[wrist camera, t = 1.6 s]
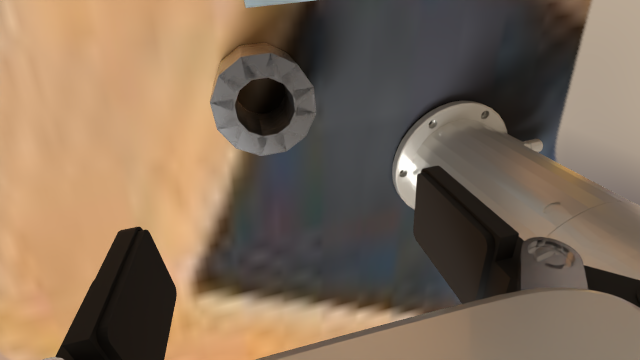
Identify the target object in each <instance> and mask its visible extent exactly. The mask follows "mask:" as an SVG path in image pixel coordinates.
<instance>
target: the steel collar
mask: <svg viewBox="0 0 640 360" xmlns="http://www.w3.org/2000/svg"><path fill="white" fill-rule="evenodd" d="M262 78H271V79H273V80H276V81H278V82H280V83H283V84H284V87H285V94H284V97H283V99H282V102H281V104H280V105H279V106H278V107H277V108H275V109H274V110H273V111H272V112H268V113H262V114H256V113H254V112H251V111H248V110H246V109H245V108H244V107H243V106H242V105H241V104H240V103H239V102H238V100H237V96H238V93H239V91H240V89H242V88H243V87H244V86H245V85H247V84H248V83H249V82H250V81H251V80H255V79H262ZM210 104H211V108H212V112H213V116H214V119H215V123H216V127H217V130H218V131H219V132H220V133H221V134H222V135H223V136H224V137H225V138H226V139H227V140H228V141H229V142H230V143H231V144H232V145H233V146H234V147H235V148H237V149H240V150H243V151H247V152H250V153H253V154H256V155H260V156H263V155H269V154H274V153H280V152H286V151H287V150H289V149H290V148H291V147H293V146H294V145H295V144H296V143H298V142H299V141H300V140H302V139H303V138H304V137H306V135H307V133H308V131H309V128H310V126H311V124H312V122H313V119H314V117H315V115H316V105H315V95H314V87H313V85H312V84H311V83H310V81H309V80H308V78H307V77H306V76H305V74H304V73H303V71H302V70H301V69H300V67H299V66H298V64H297V63H296V62H295V61H294V60H293V59H292V58H291V57H290V55H289V54H288V53H287V52H284V51H282V50H280V49H278V48H276V47H273V46H271V45H269V44H267V43H256V44H248V45H240V46H238V47H237V48H236V49H235V50H234V51H232V52H231V53H230V54H229V55H228V56H226V57H225V58H224V59H223V60H222V61H221V62H220V65H219V69H218V72H217V75H216V78H215V82H214V85H213V90H212V95H211V100H210Z"/></svg>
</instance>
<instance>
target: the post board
mask: <svg viewBox="0 0 640 360" xmlns="http://www.w3.org/2000/svg"><path fill="white" fill-rule="evenodd" d="M305 1H314V0H244V3H245V7H246V8H250V7H259V6H268V5H277V4H287V3H296V2H305Z"/></svg>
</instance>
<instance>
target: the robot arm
mask: <svg viewBox="0 0 640 360" xmlns="http://www.w3.org/2000/svg"><path fill="white" fill-rule="evenodd" d="M542 148H543V144H542V141H540V140H539V139H532V140H527V141H524V142H522V141H520V140H518V139H516V138H514V137H512V136H510V135H508V134H507V129H506V126H505V123H504V121H503V120H502V118H501V117H500V115H499V114H498V113H497V112H495V111H494V110H493V109H492V108H490V107H488V106H486V105H484V104H481V103H478V102H474V101H456V102H450V103H447V104H445V105H442V106H439V107H437V108H436V109H434V110H432V111H430V112H428V113H427V114H426V115H424V116H423V117H422V118H421V119H419V120H418V121H417V122H416V123H415V124H414V125H413V126H412V127H411V128H410V130H409V131H408V132H407V134H406V135H405V136H404V138H403V139H402V141H401V143H400V145H399V147H398V149H397V151H396V154H395V158H394V161H393V170H392V176H393V183H394V186H395V188H396V191H397V193H398V194H399V195H400V197H401V198H402V199H403V200H404V201H405V203H406V204H407V205H409V206H410V207H412V208H413V209H415V213H414V229H413V232H414V236H415V239H416V241H417V242H418V243H419V245H420V246H421V248H422V249H423V250H424V252H425V253H426V254H427V256H428V257H429V258H430V260H431V261H432V263H433V264H434V265H435V267H436V268H437V269H438V271H439V272H440V274H441V275H442V276H443V278H444V279H445V280H446V282H447V283H448V285H449V286H450V287H451V289H452V290H453V291H454V293H455V294H456V296H457V297H458V298H459V300H460V301H461V302H462V304H460V305H456V306H452V307H448V308H445V309H441V310H437V311H433V312H430V313H426V314H422V315H418V316H414V317H411V318H407V319H403V320H399V321H396V322H392V323H388V324H384V325H381V326H377V327H373V328H369V329H366V330H362V331H358V332H355V333H351V334H347V335H343V336H340V337H336V338H332V339H329V340H325V341H321V342H318V343H314V344H310V345H307V346H303V347H299V348H296V349H292V350H288V351H285V352H281V353H277V354H274V355H270V356H267V357H263V358H259V359H256V360H640V206H639V205H637V204H635V203H633V202H631V201H629V200H627V199H625V198H623V197H621V196H619V195H617V194H616V193H614V192H612V191H610V190H608V189H606V188H604V187H602V186H600V185H599V184H597V183H595V182H592V181H591V180H589V179H587V178H585V177H583V176H581V175H580V174H578V173H575V172H574V171H572V170H570V169H568V168H566V167H564V166H562V165H561V164H559V163H557V162H555V161H553V160H551V159H549V158H547V157H545V156H544V155H542V154H540V153H538V152H540V151H541V150H542ZM175 301H176V287H175V285H174V283H173V281H172V279H171V276H170V274H169V272H168V270H167V268H166V266H165V264H164V262H163V260H162V258H161V255H160V253H159V251H158V249H157V247H156V245H155V243H154V241H153V239H152V237H151V234H150V233H149V231H148V230H143V229H142V228H141V227H135V228H130V229H125V230H121V231H119V232H118V234H117V236H116V238H115V240H114V242H113V244H112V246H111V248H110V250H109V252H108V254H107V256H106V258H105V260H104V262H103V264H102V266H101V268H100V270H99V272H98V274H97V276H96V278H95V280H94V281H93V283H92V284H91V286H90V288H89V290H88V292H87V294H86V296H85V298H84V300H83V302H82V304H81V306H80V308H79V310H78V312H77V314H76V316H75V318H74V320H73V322H72V324H71V326H70V328H69V330H68V332H67V334H66V337H65V339H64V341H63V343H62V345H61V347H60V349H59V351H58V353H57V355H56V357H52V358H46V359H43V360H164V357H165V352H166V347H167V342H168V337H169V332H170V327H171V322H172V317H173V312H174V307H175Z"/></svg>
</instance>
